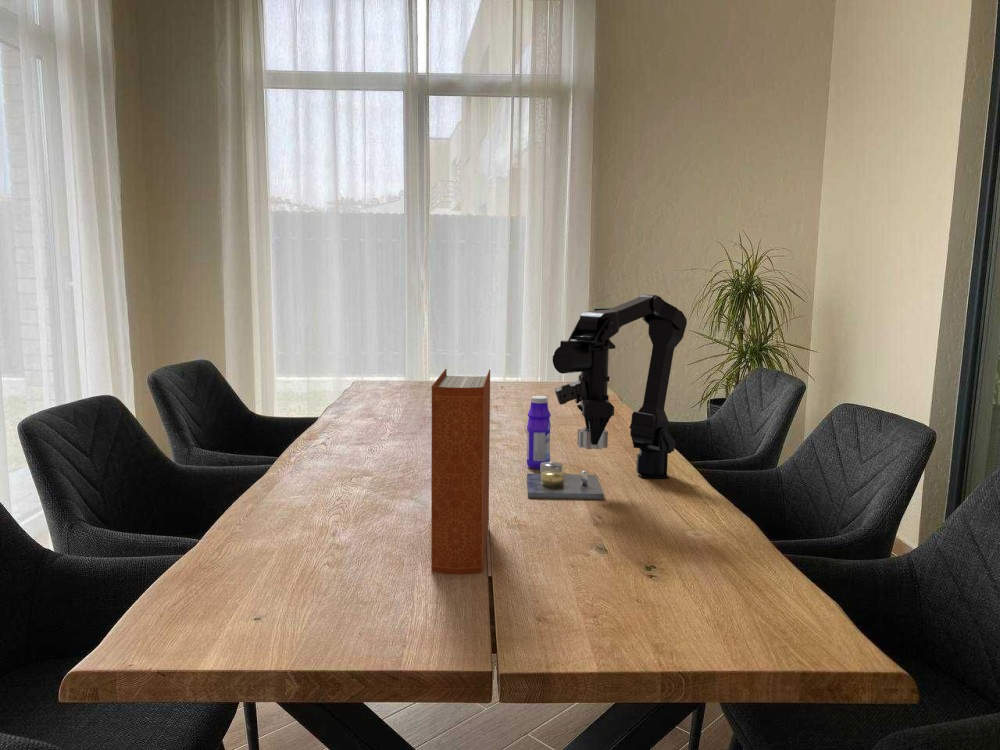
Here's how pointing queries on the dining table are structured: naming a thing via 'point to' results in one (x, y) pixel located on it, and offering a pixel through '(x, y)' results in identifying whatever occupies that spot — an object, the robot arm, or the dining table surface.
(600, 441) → the planet gear
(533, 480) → the plate
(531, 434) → the bottle
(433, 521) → the book
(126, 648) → the dining table surface
